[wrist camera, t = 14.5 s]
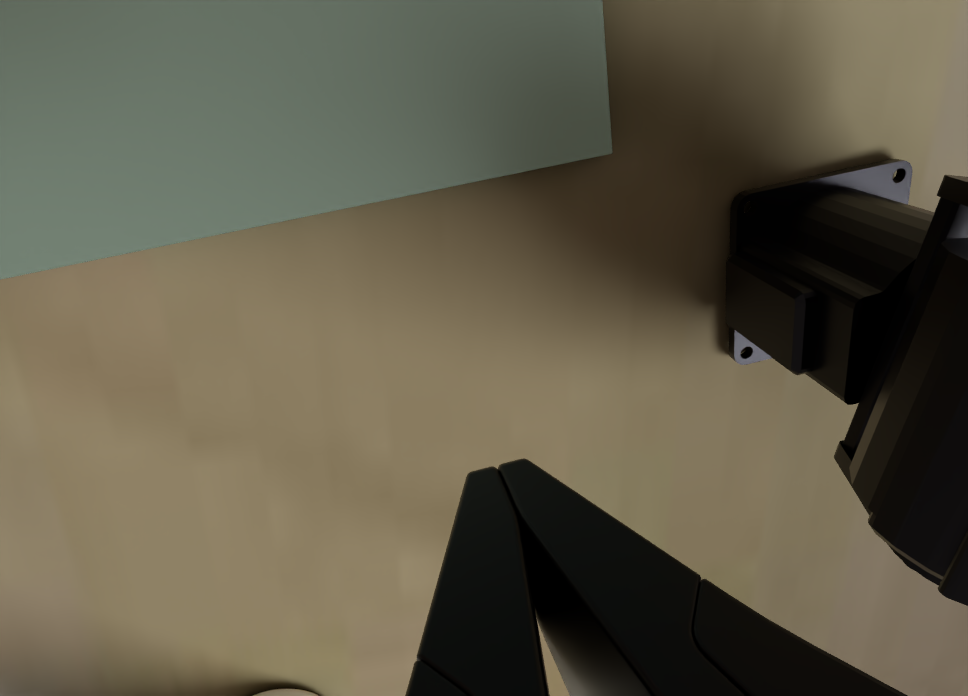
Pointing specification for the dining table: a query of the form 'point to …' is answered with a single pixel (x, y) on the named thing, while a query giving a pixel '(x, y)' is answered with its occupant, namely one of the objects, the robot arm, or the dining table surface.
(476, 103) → the board
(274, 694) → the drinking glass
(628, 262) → the dining table surface
